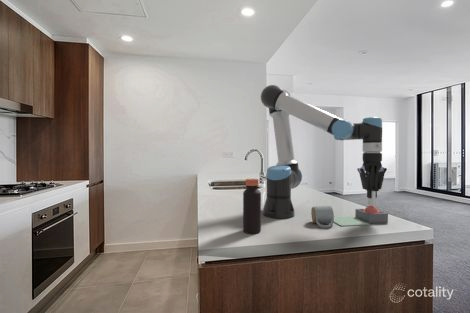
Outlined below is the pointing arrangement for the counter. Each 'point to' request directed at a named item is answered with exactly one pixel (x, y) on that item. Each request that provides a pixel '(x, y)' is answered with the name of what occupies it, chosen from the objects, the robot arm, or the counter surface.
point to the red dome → (371, 209)
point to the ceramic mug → (322, 216)
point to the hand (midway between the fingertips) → (371, 205)
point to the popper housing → (371, 216)
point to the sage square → (348, 221)
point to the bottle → (252, 207)
